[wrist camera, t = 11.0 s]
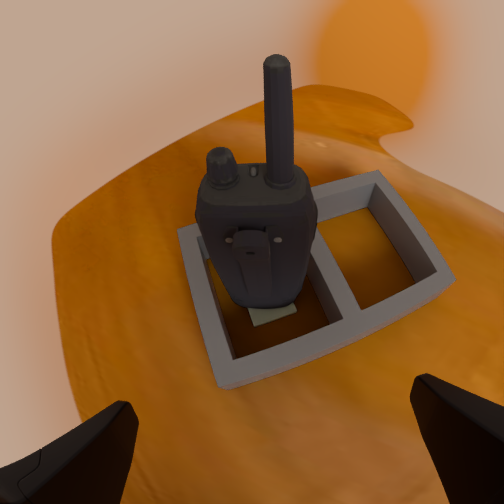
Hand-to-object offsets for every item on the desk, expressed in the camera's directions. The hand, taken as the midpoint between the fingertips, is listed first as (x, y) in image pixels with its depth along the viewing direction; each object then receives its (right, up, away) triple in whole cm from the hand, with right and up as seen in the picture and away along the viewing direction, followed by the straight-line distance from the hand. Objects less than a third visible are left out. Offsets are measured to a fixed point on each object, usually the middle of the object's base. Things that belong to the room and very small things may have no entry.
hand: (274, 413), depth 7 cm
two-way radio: (0, +2, +12) cm, 12 cm away
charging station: (+4, +3, +12) cm, 13 cm away
